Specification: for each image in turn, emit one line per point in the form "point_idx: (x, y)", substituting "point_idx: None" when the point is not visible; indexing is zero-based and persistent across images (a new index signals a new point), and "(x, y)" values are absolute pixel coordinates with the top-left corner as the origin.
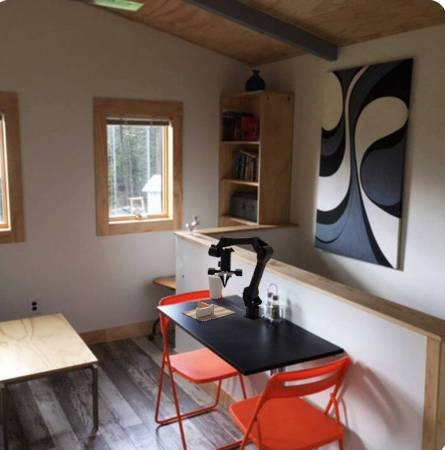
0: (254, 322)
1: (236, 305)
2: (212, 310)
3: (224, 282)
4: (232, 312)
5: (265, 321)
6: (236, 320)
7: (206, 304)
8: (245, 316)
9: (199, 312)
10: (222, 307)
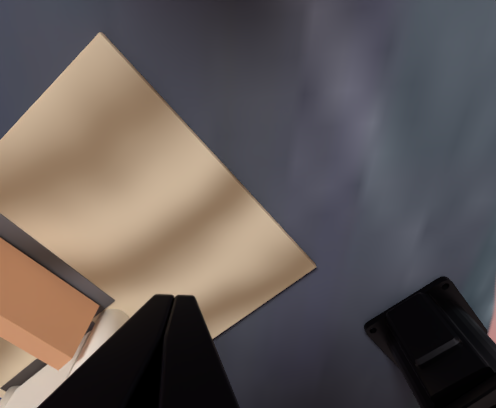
0: (403, 404)
1: (361, 16)
2: None
3: (136, 402)
4: (284, 270)
5: None
6: (294, 389)
7: (16, 343)
8: (371, 337)
9: None
10: (195, 140)
